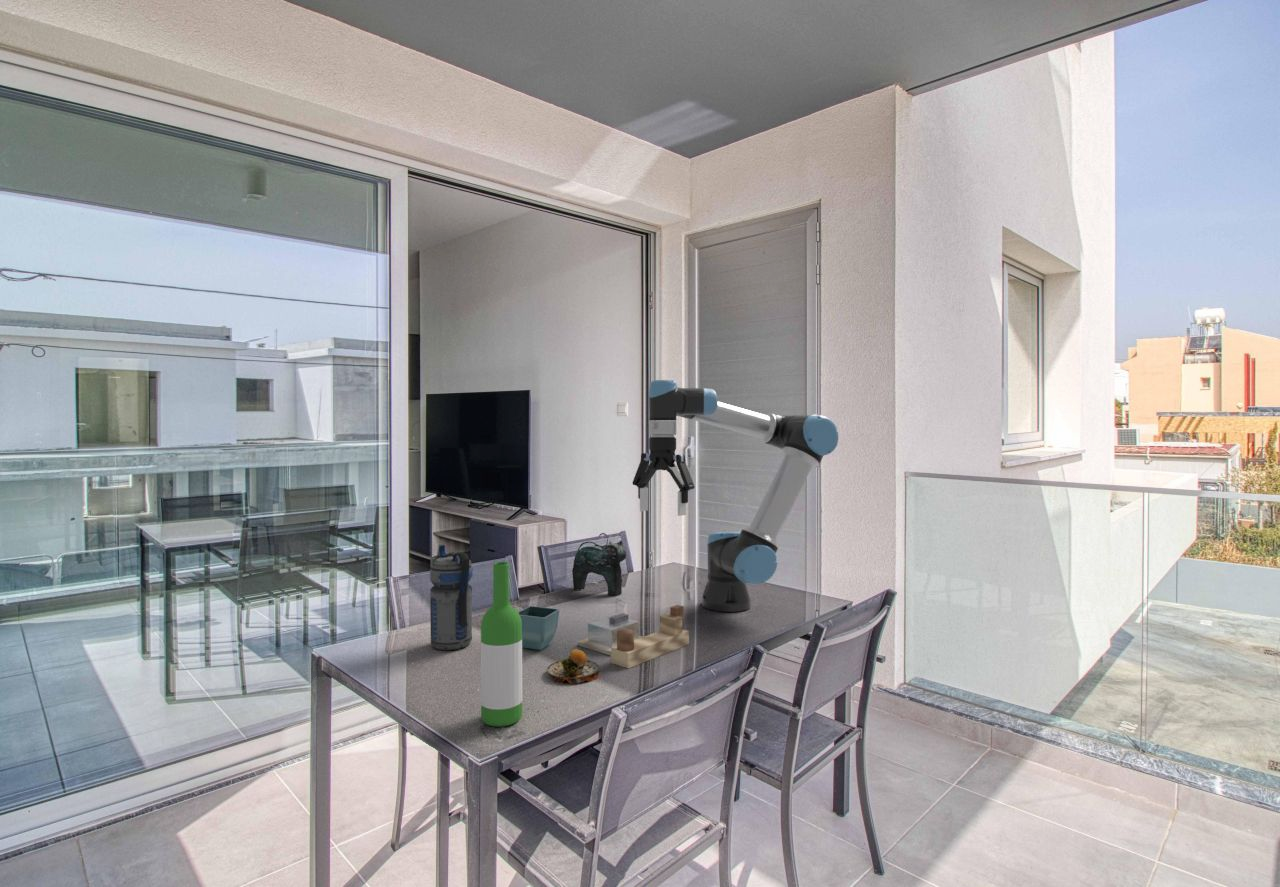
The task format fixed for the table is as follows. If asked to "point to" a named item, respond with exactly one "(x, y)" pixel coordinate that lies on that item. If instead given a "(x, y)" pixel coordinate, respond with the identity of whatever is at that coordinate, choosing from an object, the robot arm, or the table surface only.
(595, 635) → the white block with stub
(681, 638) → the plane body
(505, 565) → the wine bottle
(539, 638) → the flower pot
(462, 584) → the beverage bottle
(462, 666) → the table surface
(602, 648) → the ash board
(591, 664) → the salad plate
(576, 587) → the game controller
